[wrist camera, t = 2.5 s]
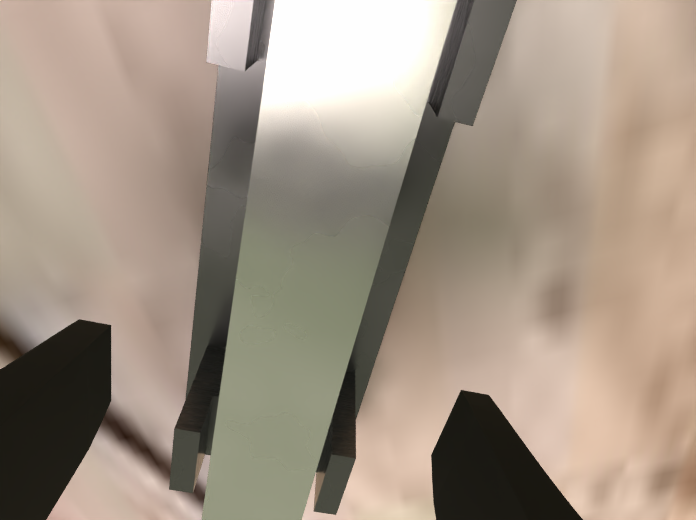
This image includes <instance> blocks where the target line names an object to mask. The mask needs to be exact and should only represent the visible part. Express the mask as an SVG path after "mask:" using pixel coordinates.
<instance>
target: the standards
mask: <svg viewBox="0 0 696 520" xmlns="http://www.w3.org/2000/svg"><path fill="white" fill-rule="evenodd" d="M516 1H517V0H457V2H456V6H455V9H454V12H453V16H452V19H451V22H450V26H449V29H448V32H447V36H446V39H445V42H444V46H443V49H442V52H441V56H440V59H439V62H438V66H437V69H436V72H435V76H434V79H433V82H432V86H431V89H430V92H429V96H428V99H427V102H426V106H425V109H424V112H423V116H422V119H421V122H420V126H419V129H418V132H417V136H416V139H415V142H414V146H413V149H412V152H411V156H410V159H409V162H408V166H407V169H406V172H405V176H404V179H403V182H402V186H401V189H400V192H399V196H398V199H397V202H396V206H395V209H394V212H393V216H392V219H391V222H390V226H389V229H388V232H387V236H386V239H385V242H384V246H383V249H382V252H381V256H380V259H379V263H378V266H377V269H376V273H375V276H374V279H373V283H372V286H371V289H370V293H369V296H368V299H367V303H366V306H365V309H364V313H363V316H362V319H361V323H360V326H359V329H358V333H357V336H356V339H355V343H354V346H353V349H352V353H351V356H350V359H349V363H348V366H347V369H346V373H345V376H344V379H343V383H342V386H341V389H340V393H339V396H338V399H337V403H336V406H335V409H334V413H333V416H332V419H331V423H330V426H329V429H328V433H327V436H326V439H325V443H324V446H323V449H322V453H321V456H320V459H319V463H318V466H317V469H316V472H317V473H316V486H315V500H314V511H315V512H321V513H328V514H334V515H336V513H337V510H338V508H339V505H340V502H341V499H342V496H343V493H344V490H345V488H346V485H347V482H348V479H349V476H350V473H351V471H352V468H353V465H354V462H355V459H356V417H357V414H358V411H359V408H360V405H361V402H362V399H363V396H364V393H365V390H366V387H367V384H368V381H369V378H370V375H371V372H372V369H373V366H374V363H375V360H376V357H377V354H378V351H379V348H380V345H381V342H382V339H383V336H384V333H385V330H386V327H387V324H388V321H389V318H390V315H391V312H392V309H393V306H394V303H395V300H396V297H397V294H398V291H399V288H400V285H401V282H402V279H403V276H404V273H405V270H406V267H407V264H408V261H409V258H410V255H411V252H412V249H413V246H414V243H415V240H416V237H417V234H418V231H419V228H420V225H421V222H422V219H423V216H424V213H425V210H426V207H427V204H428V201H429V198H430V195H431V192H432V189H433V186H434V183H435V180H436V177H437V174H438V171H439V168H440V165H441V162H442V159H443V156H444V153H445V150H446V147H447V144H448V141H449V138H450V135H451V132H452V129H453V126H454V123H455V122H458V123H462V124H466V125H470V126H473V123H474V120H475V118H476V115H477V112H478V109H479V106H480V103H481V101H482V98H483V95H484V92H485V89H486V86H487V83H488V81H489V78H490V75H491V72H492V69H493V66H494V64H495V61H496V58H497V55H498V52H499V49H500V46H501V44H502V41H503V38H504V35H505V32H506V29H507V27H508V24H509V21H510V18H511V15H512V12H513V9H514V7H515V4H516ZM274 7H275V0H212V2H211V14H210V25H209V37H208V48H207V60H206V62H207V63H211V64H216V65H219V66H218V76H217V86H216V96H215V106H214V117H213V127H212V137H211V147H210V157H209V168H208V178H207V188H206V198H205V208H204V218H203V229H202V239H201V249H200V259H199V269H198V279H197V290H196V300H195V310H194V320H193V330H192V341H191V351H190V361H189V371H188V381H187V391H186V401H185V403H184V406H183V408H182V411H181V414H180V416H179V419H178V421H177V424H176V426H175V429H174V440H173V452H172V463H171V475H170V486H169V489H170V490H176V491H183V492H190V493H193V491H194V488H195V485H196V482H197V478H198V475H199V472H200V469H201V465H202V462H203V459H204V456H205V454H206V455H211V450H212V443H213V436H214V429H215V422H216V415H217V408H218V401H219V394H220V387H221V380H222V373H223V366H224V359H225V352H226V345H227V338H228V331H229V324H230V317H231V310H232V303H233V296H234V289H235V281H236V274H237V267H238V260H239V253H240V246H241V239H242V232H243V225H244V218H245V211H246V204H247V197H248V190H249V183H250V176H251V169H252V162H253V155H254V148H255V141H256V134H257V127H258V120H259V113H260V106H261V98H262V91H263V84H264V77H265V70H266V63H267V56H268V49H269V42H270V35H271V28H272V21H273V14H274Z"/></svg>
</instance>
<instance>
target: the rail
mask: <svg viewBox="0 0 696 520" xmlns="http://www.w3.org/2000/svg"><path fill="white" fill-rule="evenodd" d="M456 2H457V0H275V7H274V14H273V21H272V28H271V35H270V42H269V49H268V56H267V63H266V70H265V77H264V84H263V91H262V98H261V106H260V113H259V120H258V127H257V134H256V141H255V148H254V155H253V162H252V169H251V176H250V183H249V190H248V197H247V204H246V211H245V218H244V225H243V232H242V239H241V246H240V253H239V260H238V267H237V274H236V281H235V289H234V296H233V303H232V310H231V317H230V324H229V331H228V338H227V345H226V352H225V359H224V366H223V373H222V380H221V387H220V394H219V401H218V408H217V415H216V422H215V429H214V436H213V443H212V450H211V457H210V464H209V472H208V479H207V486H206V493H205V500H204V507H203V514H202V520H302V516H303V513H304V510H305V506H306V503H307V499H308V496H309V493H310V489H311V486H312V483H313V479H314V476H315V473H316V469H317V466H318V463H319V459H320V456H321V453H322V449H323V446H324V443H325V439H326V436H327V433H328V429H329V426H330V423H331V419H332V416H333V413H334V409H335V406H336V403H337V399H338V396H339V393H340V389H341V386H342V383H343V379H344V376H345V373H346V369H347V366H348V363H349V359H350V356H351V353H352V349H353V346H354V343H355V339H356V336H357V333H358V329H359V326H360V323H361V319H362V316H363V313H364V309H365V306H366V303H367V299H368V296H369V293H370V289H371V286H372V283H373V279H374V276H375V273H376V269H377V266H378V263H379V259H380V256H381V252H382V249H383V246H384V242H385V239H386V236H387V232H388V229H389V226H390V222H391V219H392V216H393V212H394V209H395V206H396V202H397V199H398V196H399V192H400V189H401V186H402V182H403V179H404V176H405V172H406V169H407V166H408V162H409V159H410V156H411V152H412V149H413V146H414V142H415V139H416V136H417V132H418V129H419V126H420V122H421V119H422V116H423V112H424V109H425V106H426V102H427V99H428V96H429V92H430V89H431V86H432V82H433V79H434V76H435V72H436V69H437V66H438V62H439V59H440V56H441V52H442V49H443V46H444V42H445V39H446V36H447V32H448V29H449V26H450V22H451V19H452V16H453V12H454V9H455V6H456Z"/></svg>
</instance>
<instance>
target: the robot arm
mask: <svg viewBox="0 0 696 520" xmlns="http://www.w3.org/2000/svg"><path fill="white" fill-rule="evenodd" d="M110 402H111V325H107V324H102V323H96V322H91V321H85V320H80V319H79V320H77V321H76V322H74V323H73V324H71V325H69V326H68V327H66V328H64V329H63V330H61V331H60V332H58V333H57V334H55V335H54V336H52V337H50V338H49V339H47V340H46V341H44V342H43V343H41V344H40V345H38V346H36V347H35V348H33V349H32V350H30V351H29V352H27V353H26V354H24V355H22V356H21V357H19V358H18V359H16V360H15V361H13V362H12V363H10V364H8V365H7V366H5V367H3V368H2V369H0V520H46V519H47V517H48V516H49V514H50V513H51V511H52V509H53V508H54V506H55V504H56V503H57V501H58V499H59V498H60V496H61V495H62V493H63V491H64V490H65V488H66V486H67V485H68V483H69V481H70V480H71V478H72V476H73V475H74V473H75V471H76V470H77V468H78V466H79V465H80V463H81V461H82V460H83V458H84V456H85V455H86V453H87V451H88V450H89V448H90V446H91V444H92V441H93V439H94V437H95V435H96V433H97V431H98V429H99V427H100V424H101V422H102V420H103V418H104V415H105V413H106V411H107V409H108V406H109V404H110ZM431 457H432V483H433V498H434V508H435V514H436V520H583V519H582V518H581V517H580V516H579V514H578V513H577V512H576V511H575V510H574V508H573V507H572V506H571V505H570V503H569V502H568V501H567V500H566V498H565V497H564V496H563V495H562V493H561V492H560V491H559V489H558V488H557V487H556V486H555V484H554V483H553V482H552V480H551V479H550V478H549V476H548V475H547V474H546V472H545V471H544V470H543V468H542V467H541V466H540V464H539V463H538V462H537V460H536V459H535V458H534V456H533V455H532V454H531V452H530V451H529V449H528V448H527V447H526V445H525V444H524V443H523V441H522V440H521V438H520V437H519V436H518V434H517V433H516V432H515V430H514V429H513V427H512V426H511V425H510V423H509V422H508V420H507V419H506V418H505V416H504V415H503V413H502V412H501V411H500V409H499V408H498V407H497V405H496V404H495V403H494V401H493V400H492V399H491V397H490V396H489V395H485V394H480V393H475V392H469V391H464V390H461V392H460V394H459V396H458V398H457V400H456V402H455V405H454V407H453V409H452V411H451V413H450V416H449V418H448V420H447V422H446V424H445V426H444V429H443V431H442V433H441V435H440V437H439V439H438V442H437V444H436V446H435V448H434V450H433V453H432V455H431Z"/></svg>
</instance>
